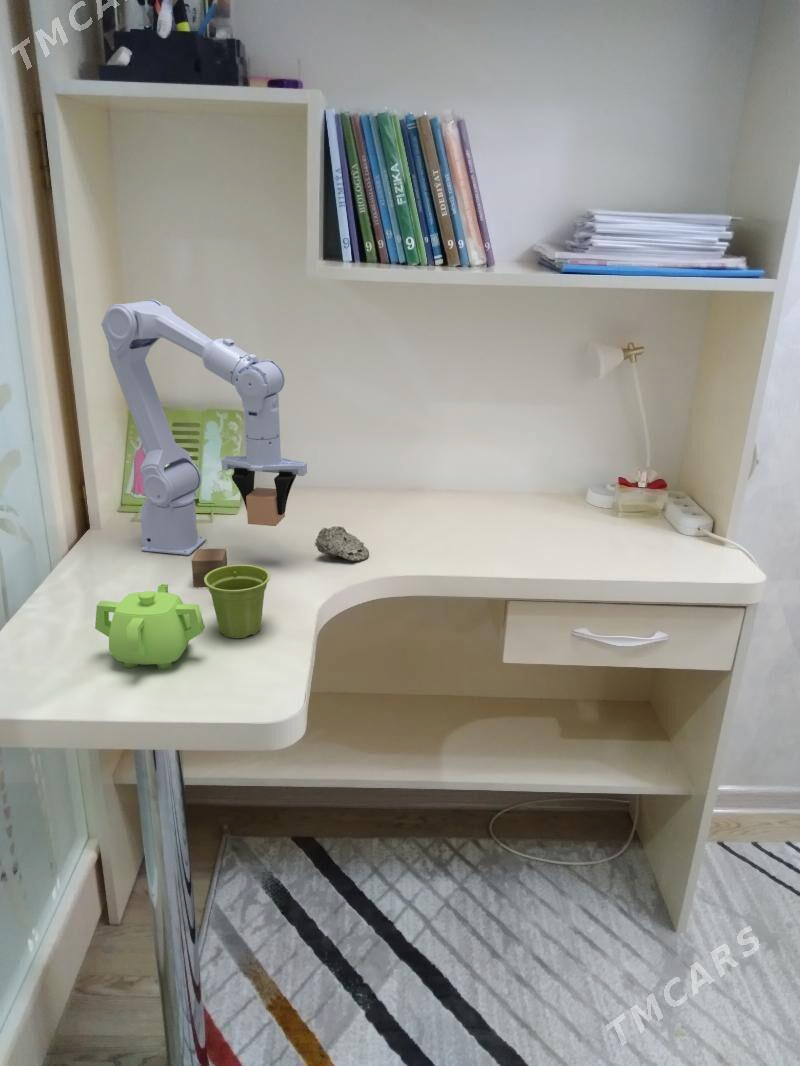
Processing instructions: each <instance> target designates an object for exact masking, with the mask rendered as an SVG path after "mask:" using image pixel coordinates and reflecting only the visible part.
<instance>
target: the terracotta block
mask: <svg viewBox="0 0 800 1066" xmlns="http://www.w3.org/2000/svg"><path fill="white" fill-rule="evenodd" d="M246 503H247V510H246V513H247V514H246V517H247V525H254V526H268V527H276V526H277V525H279V523H280V522H281V521H282V520H283V519H284V518H285V517H286V511H285V512H284V513H283V514H282V515H278V511H277V492H276V488H270V487H269V488H268V487H267V488H266V487H258V486H257V487H254V490H253V491H252V492H251V493H250V494H248V495H247V496H246Z"/></svg>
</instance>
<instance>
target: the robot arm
mask: <svg viewBox="0 0 800 1066" xmlns="http://www.w3.org/2000/svg"><path fill="white" fill-rule="evenodd" d="M101 327H102V330H103V333H104V335H105V338H106V340H107V343H108V356H109V359H110V360H109V361H110V363H111V366H112V368H113V371H114V373H115V375H116V378H117V381H118V384H119V386H120V388H121V389H120V390H121V391H122V394H123V397H124V399H125V402H126V404H127V407H128V409H129V412H130V415H131V417H132V420H133V422H134V425H135V428H136V430H137V433H138V435H139V438H140V441H141V443H142V444H141V445H142V446H143V449H144V452H145V453H146V455H145V457H144V459H143V461H142V464H141V465H140V468H139V471H140V474H141V477H142V490H143V493H144V495H145V496H146V499H145V500H144V502H143V504H142V505H141V509H140V515H139V516H140V518H139V519H140V529H141V538H142V539H141V540H142V547H141V551H143V552H151V553H153V552H154V553H163V554H172V555H181V556H183V555H185V556H188V555H191V554H192V553H193V552H195V551H196V549H199V547H200V546H201V545H203V543H204V542H206V540H207V537H206V536H199V535H198V527H197V526H198V525H197V524H198V523H197V513H196V501H195V500H196V499H195V498H196V497H197V490H199V489H200V487H201V485H202V480H203V479H202V473H201V470H200V469H199V467H198V466H197V464H196V463H195V462H194V461H193V460H192V458H191V455H190V451H188V450H186V449H185V448H183V447H181V446H179V445H178V444H177V442H176V440H175V438H174V435H173V432H172V429H171V427H170V426H171V425H170V424H169V421H168V419H167V416H166V413H165V410H164V409H163V408H164V407H163V405H162V403H161V399H160V397H159V395H158V392H157V388H156V387H155V383H154V381H153V378H152V376H151V373H150V370H149V368H148V365H147V363H146V359H147V356H148V354H149V352H150V350H151V348H152V347H153V346H154V345H155V344H156V343H157V342H158V341H159V340H160V338H161V339H166V340H167V341H169V342H171V343H173V344H175V345H177V346H179V347H181V348H183V349H184V350H186V351H188V352H190V353H191V354H194V355H195V356H197V357H199V358H202V363H203V365H204V368H205V369H206V370H207V371H210V372H211V373H213V374H214V375H215V376H217V377H219V378H221V379H222V380H224V381H226V382H228V383H229V384H230V385H232V386H234V387H235V390H236V392H237V394H238V395H239V397H240V399H241V402H242V403H241V405H242V408H243V413H244V431H245V432H244V433H245V455H246V456H245V455H242V456H239V455H238V456H233V455H232V456H231V455H230V456H229V455H228V456H227V455H226V456H224V457H222V458H221V459H220V461H221V470H222V471H230V470H233V474H231V480H232V481H233V483H234V484H235V486H236V487H237V489H238V492H239V493H240V495H241V498H242V500H243V503H244V506H245V509H246V511H247V503H246V496H247V495H248V494H250V493H251V492H252V491H253V490H254V489H255V474H256V472H259V473H260V472H261V473H273V474H274V473H275V474H278V475H276V476H275V477H274V478H273V481H274V487H275V489H276V492H277V511H278V515H282V514H283V513H284V512H285V513H286V509H287V503H288V498H289V494H290V491H291V489H292V486H293V484H294V481H295V479H296V477H297V476H299V477H304V476H306V474H307V473H308V468H307V467H308V465H307V463H308V462H307V461H300V460H299V461H298V460H293V459H290V458H289V459H288V458H283V457H282V455H281V454H282V453H281V451H282V450H281V430H280V429H281V428H280V426H281V425H280V401H279V400H280V399H279V398H280V397H279V394H280V392H282V390H283V388H284V386H285V382H286V380H285V375H284V372H283V370H282V368H281V367H280V365H279V364H277V363H276V362H275V361H274V360H272V359H263V360H260V359H258V356H257V355H255V354H254V353H252V354H250V353H248V352H247V351H245V350H244V349H241V348H240V347H238V346H237V345H235V340H233V339H231V338H221V337H220V338H216V339H212V338H210V337H209V336H207V335H206V334H204V333H203V332H201V331H200V330H198V329H197V328H195V327H194V326H192V325H191V324H190V323H189V322H187V321H185V320H183V319H182V318H181V317H179V316H178V315H177V314H175V313H174V312H173V310H172V309H171V307H170V306H167V305H165V304H163V303H161V302H160V301H158V300H156V299H150V298H149V299H146V300H143V301H136V302H128V303H127V302H126V303H114V304H112V305H110V306H109V307H108V308H107V310H106V311H105V314H104V317H103V319H102V321H101Z"/></svg>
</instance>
